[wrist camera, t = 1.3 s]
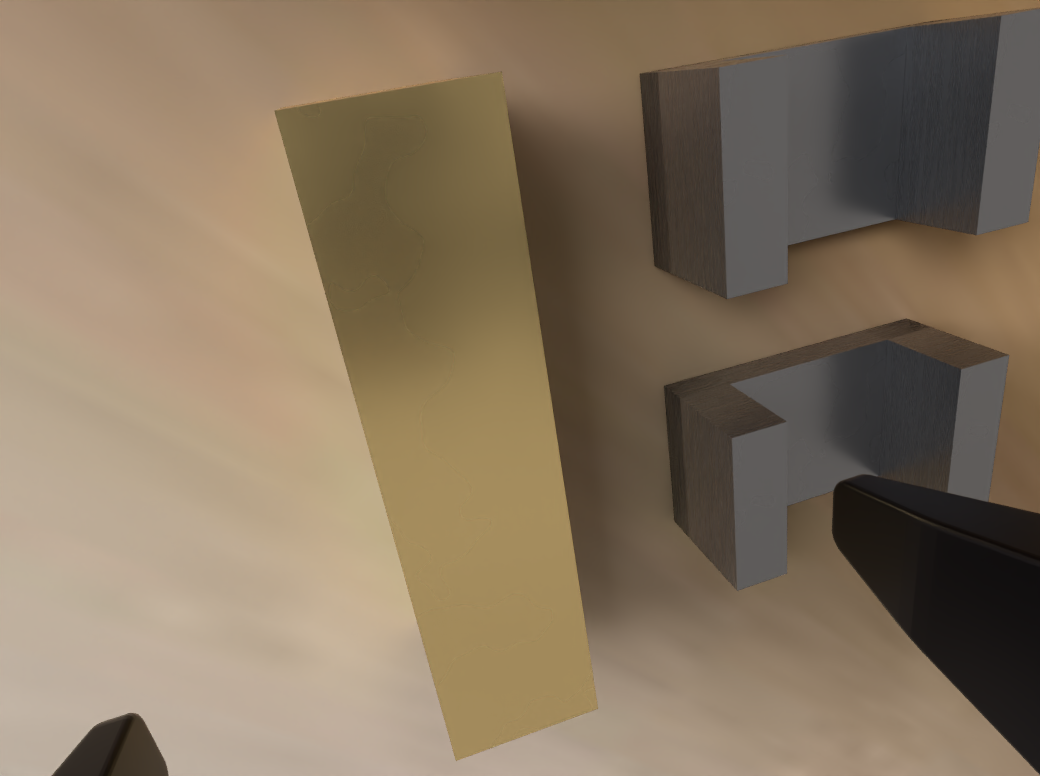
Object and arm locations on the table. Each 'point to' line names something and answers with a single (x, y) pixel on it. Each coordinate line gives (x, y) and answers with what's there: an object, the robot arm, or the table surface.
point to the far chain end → (827, 434)
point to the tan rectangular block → (451, 389)
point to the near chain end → (840, 143)
